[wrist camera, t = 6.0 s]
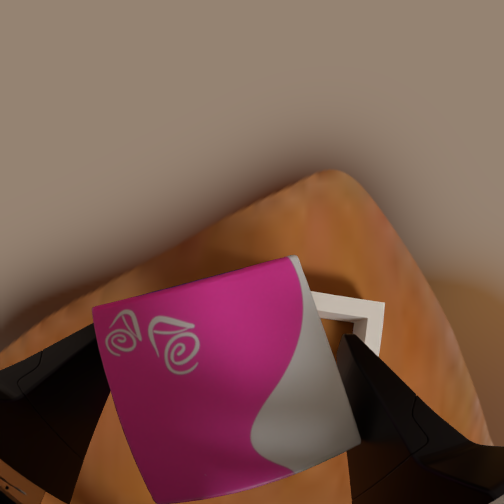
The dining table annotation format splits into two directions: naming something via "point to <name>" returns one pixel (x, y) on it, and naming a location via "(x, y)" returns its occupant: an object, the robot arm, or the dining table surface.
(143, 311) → the supplement box
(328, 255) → the dining table surface
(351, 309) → the collar
